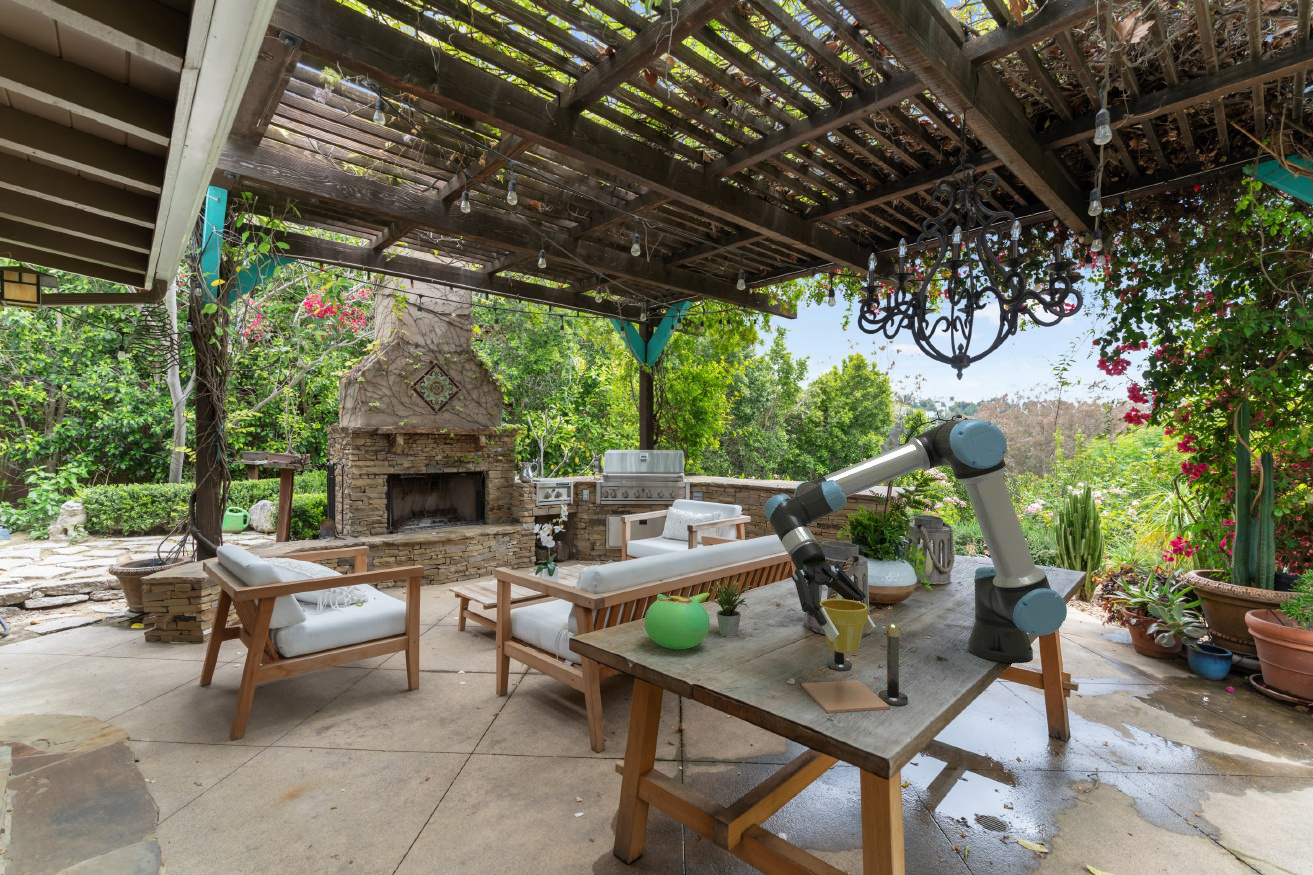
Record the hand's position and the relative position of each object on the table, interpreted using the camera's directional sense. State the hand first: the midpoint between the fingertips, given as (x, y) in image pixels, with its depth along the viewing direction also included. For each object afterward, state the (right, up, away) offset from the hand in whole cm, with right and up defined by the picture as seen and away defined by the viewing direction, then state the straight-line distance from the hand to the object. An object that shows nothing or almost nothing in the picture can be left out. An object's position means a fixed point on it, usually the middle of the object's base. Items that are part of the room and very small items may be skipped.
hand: (853, 633), depth 129 cm
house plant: (-21, -15, +44) cm, 51 cm away
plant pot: (-1, -4, +3) cm, 5 cm away
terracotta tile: (-1, -15, +2) cm, 15 cm away
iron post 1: (+3, -15, +20) cm, 25 cm away
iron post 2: (+9, -15, +1) cm, 17 cm away
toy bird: (-37, -15, +35) cm, 53 cm away
